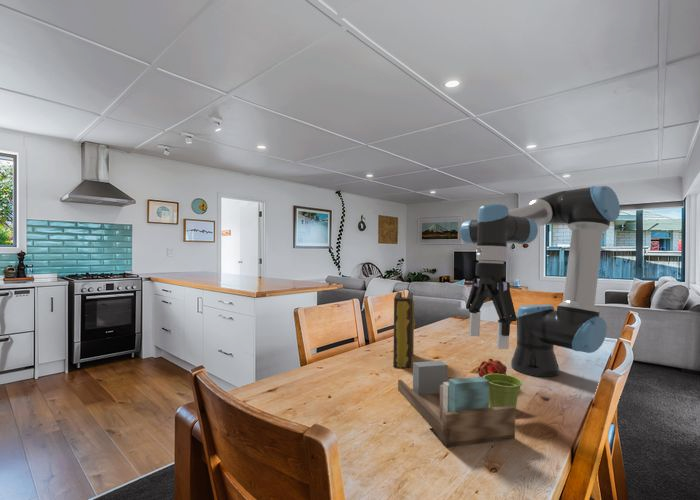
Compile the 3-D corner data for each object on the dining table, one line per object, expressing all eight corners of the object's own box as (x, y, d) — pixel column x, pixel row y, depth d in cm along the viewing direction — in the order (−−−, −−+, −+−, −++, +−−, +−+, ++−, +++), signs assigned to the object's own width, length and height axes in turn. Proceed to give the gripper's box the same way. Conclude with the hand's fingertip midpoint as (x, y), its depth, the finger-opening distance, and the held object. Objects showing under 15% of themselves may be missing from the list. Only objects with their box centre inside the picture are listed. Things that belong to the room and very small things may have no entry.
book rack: (450, 388, 108) (450, 346, 107) (514, 438, 79) (515, 381, 79) (398, 393, 104) (398, 349, 104) (445, 447, 75) (446, 387, 75)
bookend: (440, 387, 106) (441, 360, 106) (447, 392, 102) (447, 364, 102) (412, 389, 104) (413, 362, 104) (418, 394, 100) (418, 366, 100)
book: (414, 369, 124) (414, 299, 124) (389, 367, 126) (390, 298, 126) (415, 352, 146) (415, 291, 146) (394, 350, 148) (395, 291, 148)
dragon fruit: (499, 384, 116) (490, 401, 106) (478, 365, 119) (466, 381, 110) (516, 367, 112) (507, 384, 103) (492, 348, 116) (482, 363, 106)
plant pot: (476, 405, 96) (477, 373, 96) (509, 404, 97) (509, 372, 97) (493, 421, 87) (493, 386, 87) (529, 420, 88) (530, 385, 88)
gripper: (456, 260, 106) (453, 331, 106) (506, 262, 82) (502, 354, 81) (479, 262, 107) (476, 331, 107) (535, 264, 83) (531, 354, 82)
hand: (487, 341), depth 94 cm, fingers open, 13 cm apart
